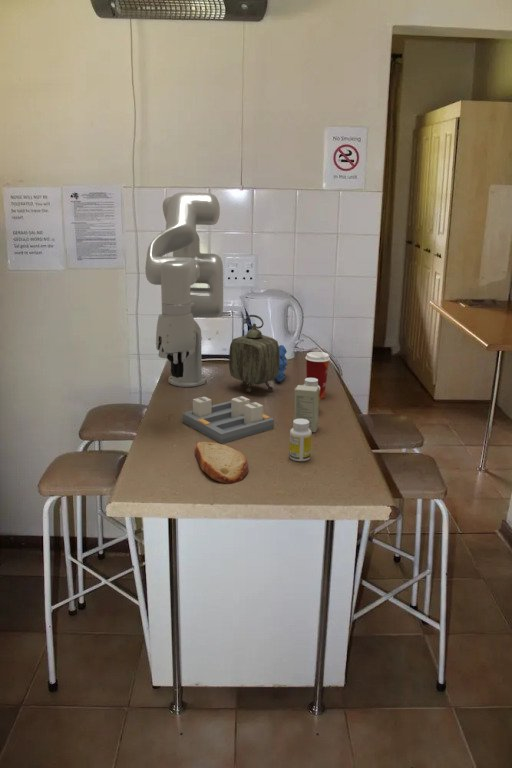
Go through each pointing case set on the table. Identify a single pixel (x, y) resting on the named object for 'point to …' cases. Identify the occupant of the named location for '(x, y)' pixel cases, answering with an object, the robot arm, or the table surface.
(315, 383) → the supplement bottle
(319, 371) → the paper cup
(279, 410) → the table surface
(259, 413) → the tab
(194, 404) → the beige switch slider block
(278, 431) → the table surface
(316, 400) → the skincare box
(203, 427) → the switch bank
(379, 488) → the table surface
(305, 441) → the supplement bottle
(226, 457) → the bread slice
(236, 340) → the tabletop clock
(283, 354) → the grapes
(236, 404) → the tab
